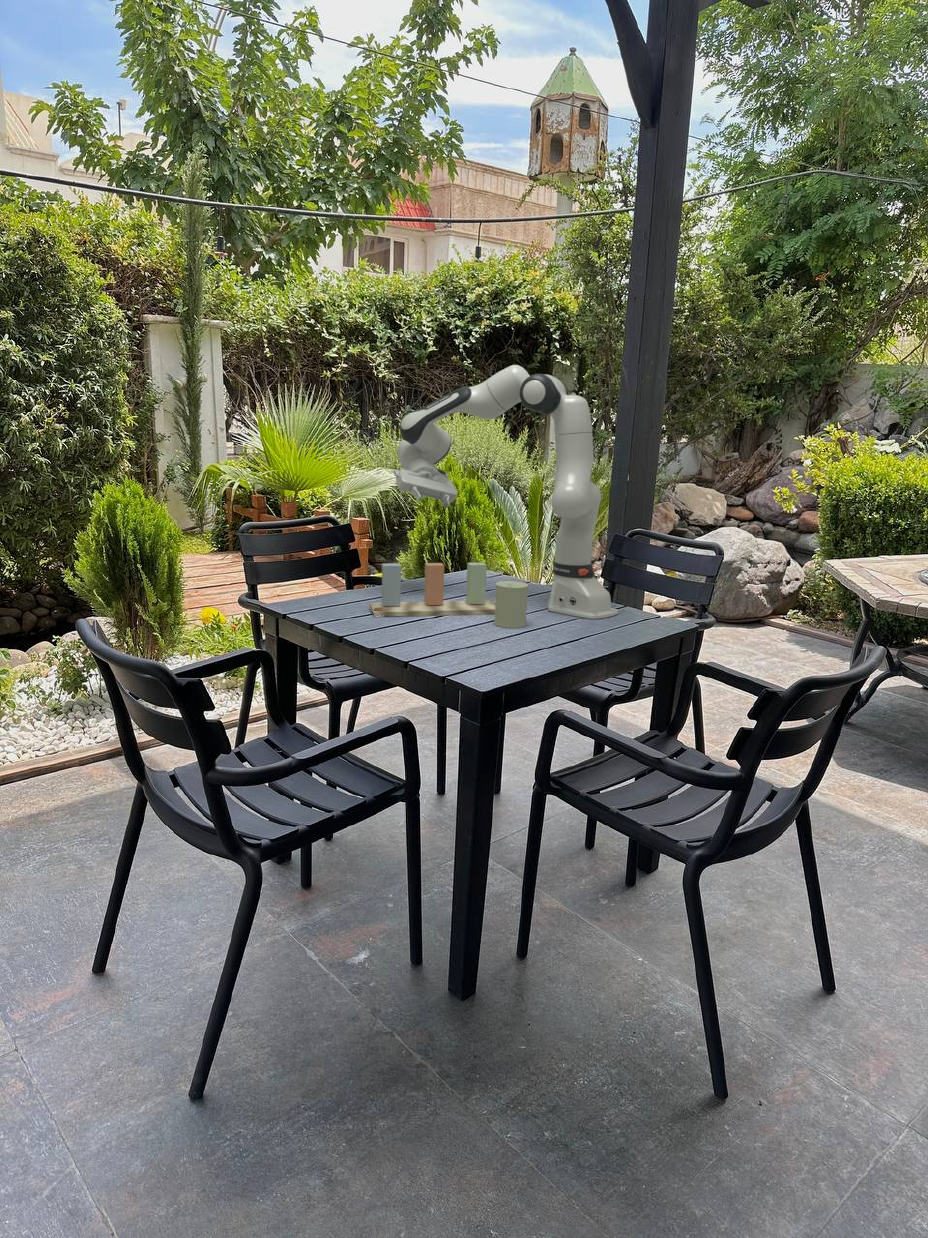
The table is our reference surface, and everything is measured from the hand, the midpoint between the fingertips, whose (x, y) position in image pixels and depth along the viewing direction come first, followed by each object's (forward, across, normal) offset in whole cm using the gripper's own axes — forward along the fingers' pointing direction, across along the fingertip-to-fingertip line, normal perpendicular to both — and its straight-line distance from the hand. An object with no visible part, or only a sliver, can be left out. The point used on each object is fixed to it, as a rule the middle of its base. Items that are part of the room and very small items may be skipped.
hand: (433, 502), depth 243 cm
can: (+45, +14, +6) cm, 47 cm away
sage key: (+26, +14, +15) cm, 33 cm away
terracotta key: (+25, +2, +19) cm, 31 cm away
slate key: (+23, -10, +24) cm, 34 cm away
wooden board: (+27, +2, +20) cm, 34 cm away
